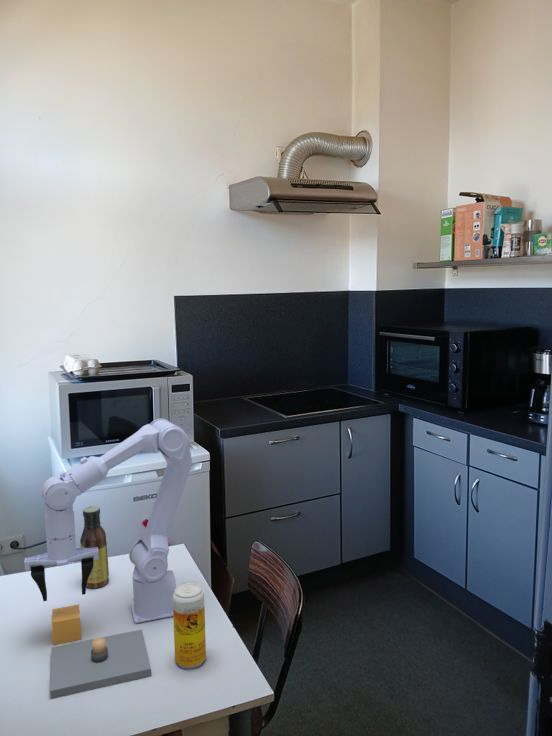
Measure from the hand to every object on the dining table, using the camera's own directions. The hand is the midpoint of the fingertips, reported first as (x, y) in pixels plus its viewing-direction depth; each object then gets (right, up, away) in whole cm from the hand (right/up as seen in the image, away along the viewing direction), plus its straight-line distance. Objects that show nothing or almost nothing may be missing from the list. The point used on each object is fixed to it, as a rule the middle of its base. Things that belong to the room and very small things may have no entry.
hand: (64, 595), depth 126 cm
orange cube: (0, -9, +1) cm, 9 cm away
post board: (+10, -10, -9) cm, 17 cm away
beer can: (+28, -10, -8) cm, 31 cm away
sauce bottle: (0, -6, +23) cm, 24 cm away
